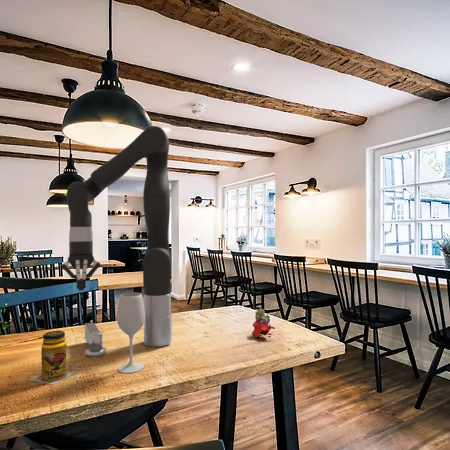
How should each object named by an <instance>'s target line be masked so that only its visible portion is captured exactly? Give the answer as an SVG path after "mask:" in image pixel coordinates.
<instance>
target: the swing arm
mask: <svg viewBox="0 0 450 450" xmlns="http://www.w3.org/2000/svg"><path fill="white" fill-rule="evenodd" d="M84 339H85V342H86V343H87V346H88V349H89V351H99V350H102V347H103V332H102V331H100V330H99V328H98V326H97V325H96V323H95V322H90V323H89V322H88V323H84Z"/></svg>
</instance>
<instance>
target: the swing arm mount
mask: <svg viewBox="0 0 450 450" xmlns="http://www.w3.org/2000/svg"><path fill="white" fill-rule="evenodd" d="M106 354H107V348H106V347H104V346H102V350H99V351H89V348H87V349H85V351H84V356H85V358H89V359H90V358H91V359H92V358H100V357H103V356H105V355H106Z"/></svg>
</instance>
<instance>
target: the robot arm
mask: <svg viewBox="0 0 450 450" xmlns="http://www.w3.org/2000/svg"><path fill="white" fill-rule="evenodd" d="M169 140H170V139H169V137H168V135H167V133H166V131H165V130H164V129H163V128H162V127H160V126H157V125H153V126H151V125H150V126H149V127H147V128H145V129H144V130H143V131H142V132H141V133H140V134H138V136H137V137H135V139H134V140H133V141H132V142H131V143H129V144H128V145H127V146H126V147H125V148H124V149H122V150H121V151H120V152H119V153H117V154H116V155H115V156H114V157H112V158H111V159H109V160H108V161H106V162H104V163H103V164H102V165H100V166H99V167H98V168H96V169H95V170H93V171H92V172H91V174H90V177H89V178H88V179H86V180H85V181H84V182H81V181H73V182H72V183H70V184H69V185H68V187H67V189H66V200H67V206H68V211H69V232H68V242H69V243H68V246H69V247H68V250H69V251H68V253H69V255H68V257H67V261H66V262H63V263H62V264H61V268H62V269H63V270H64V271H65V272H66V273H67V274H68V275H69V276H70V278H71V279H75V280H76V289H77V290H78V291H79V292H80V291H82V292H83V291H84V289H86V287H87V285H86V283H87V281H86V280H87V279H88V278H92V276H93V275H94V274H95V272H96V271H97V269H99V267H100V266H101V263H100V262H99V261H97V260H95V256H94V255H93V254H94V250H93V249H94V248H93V243H94V240H93V238H94V234H93V227H92V226H93V225H92V223H93V222H92V221H93V220H92V219H93V218H92V212H91V210H90V209H89V203H90V202H92V201H93V200H95V198H97V197H98V196H99V195H100V194H101V193H103V191H104V190H105V189H106V188H109V186H111V185H113V184H114V183H116V182H117V181H119V180H120V179H121V178H122V177H123V176H124V175H125V174H126V173H128V171H129V170H130V169H131V168H132V167H133V166H134V165H136V164H137V163H138V162H140V161H141V160H142V159H143V158H146V175H145V179H144V187H143V193H142V196H143V197H142V199H143V200H142V201H143V215H144V221H145V226H146V232H147V233H146V234H147V242H146V243H147V245H146V253H145V254H144V255H143V256H144V257H143V260H142V275H143V277H142V278H143V279H142V281H143V283H142V284H143V303H144V311H145V320H144V324H143V344H144V345H145V346H147V347H150V348H151V347H152V348H153V347H154V348H159V347H163V346H170V345H171V342H172V340H173V339H172V336H173V333H172V329H173V328H172V327H173V326H172V325H173V324H172V322H173V321H172V320H173V318H172V316H173V315H172V312H171V311H172V309H171V308H172V305H171V304H172V300H171V299H172V297H171V295H172V293H171V292H172V283H171V279H172V278H171V273H172V272H171V269H172V268H171V265H172V263H171V262H172V258H171V251H170V245H169V244H170V243H169V225H170V214H171V213H170V212H171V197H170V195H171V194H170V184H169V181H170V180H169V174H168V163H169V162H168V161H169V152H170V151H169V149H170V141H169ZM90 266H92V267H91V269H90V270H89V271H88V268H90ZM70 267H72V268H73V269H74V270H75V273H74V272H72V271H71V269H70ZM87 271H88V273H87Z"/></svg>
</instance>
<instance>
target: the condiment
mask: <svg viewBox="0 0 450 450" xmlns="http://www.w3.org/2000/svg"><path fill="white" fill-rule="evenodd" d="M65 336H66V332H65V331H64V330H52V331H47V332H46V333H44V334H43V335H42V338H43V339H42V344H41V353H40V354H41V362H40V363H41V371H40V372H41V373H40V374H38V375H36V376H34V377H33V378H29V379H28V381H32V382H37V383H42V384H48V385H49V384H50V385H55V384H57V383H60V382H61V381H63V380H65V379H66V378H68V377H70V376H71V375H73V374H74V372H73V371H72V372H71V371H67V370H68V369H67V365H68V364H67V363H68V362H67V358H68V357H67V355H68V354H67V349H68V348H67V341H66V337H65Z"/></svg>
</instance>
